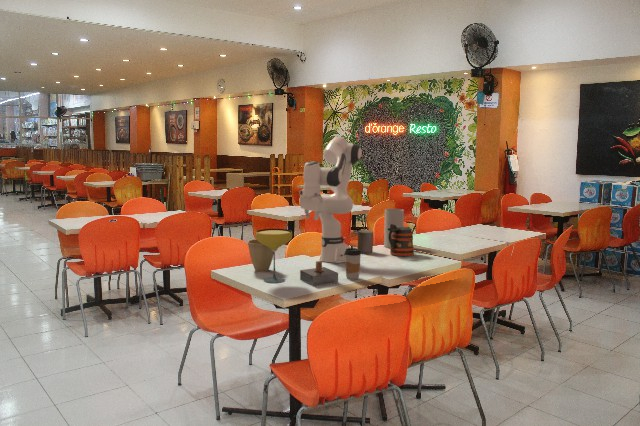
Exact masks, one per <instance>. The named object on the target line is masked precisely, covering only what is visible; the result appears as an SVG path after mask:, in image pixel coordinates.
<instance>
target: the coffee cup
mask: <svg viewBox="0 0 640 426" xmlns="http://www.w3.org/2000/svg"><path fill="white" fill-rule="evenodd" d="M361 255H362V254H361V251H360V249H358V247H357V248H356V247H350V248H348V249H346V251H345V262H344V263H345V272H346V273H345V276H346V279H347V280H350V279H351V280H352V281H353V280H354V281H355V279H356V280H359V278H360V267H361ZM351 280H350V281H351Z"/></svg>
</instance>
